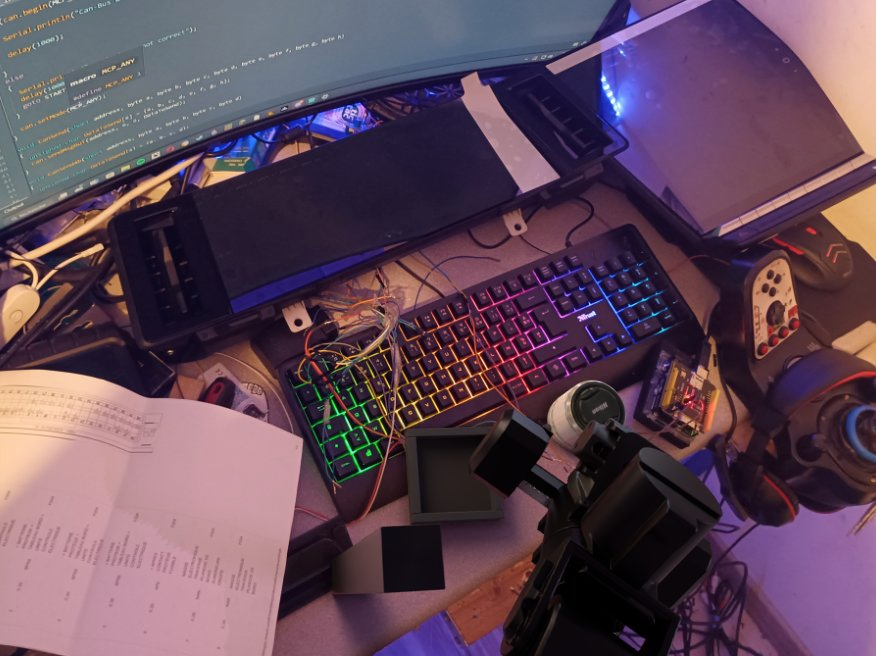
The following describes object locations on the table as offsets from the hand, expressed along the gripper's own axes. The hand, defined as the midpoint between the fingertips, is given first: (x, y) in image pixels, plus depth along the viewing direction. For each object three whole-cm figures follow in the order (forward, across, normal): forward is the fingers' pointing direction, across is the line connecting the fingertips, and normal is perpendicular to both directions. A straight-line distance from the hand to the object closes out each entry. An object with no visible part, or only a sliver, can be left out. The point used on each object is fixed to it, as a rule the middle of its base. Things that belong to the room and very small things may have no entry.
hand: (590, 458), depth 63 cm
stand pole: (-4, +12, +23) cm, 26 cm away
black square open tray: (+6, +8, +13) cm, 17 cm away
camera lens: (+14, 0, +4) cm, 15 cm away
